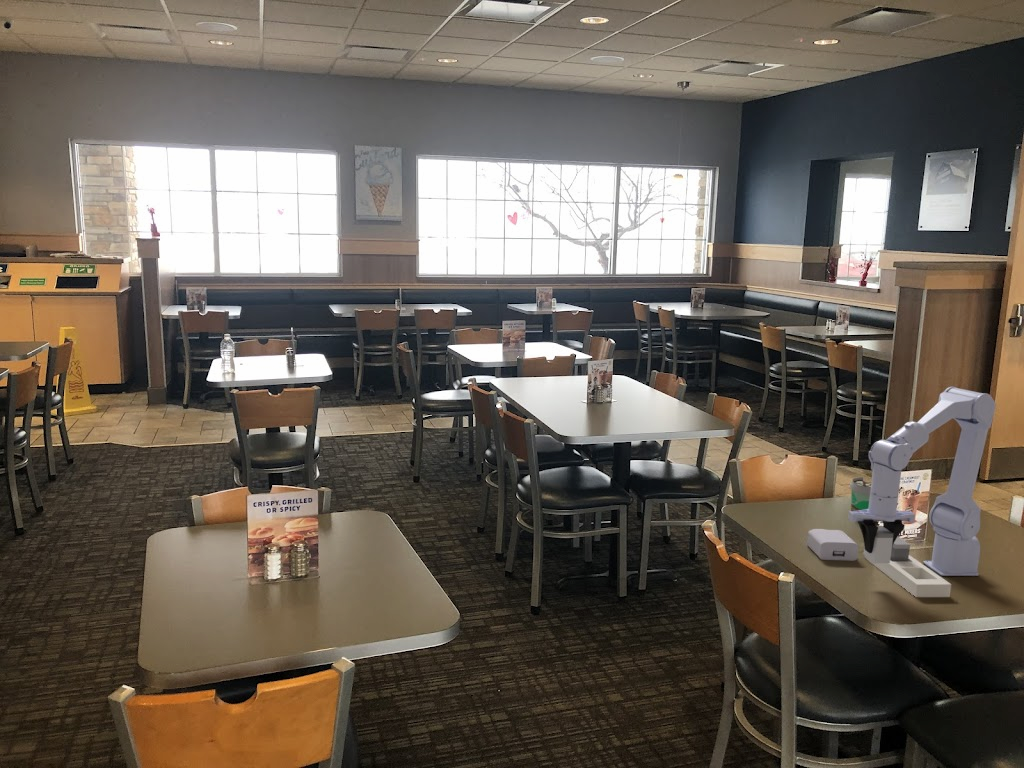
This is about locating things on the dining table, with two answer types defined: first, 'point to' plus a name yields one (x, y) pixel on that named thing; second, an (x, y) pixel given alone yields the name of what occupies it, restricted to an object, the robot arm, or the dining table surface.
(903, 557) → the charcoal plug
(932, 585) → the power strip
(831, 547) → the charger
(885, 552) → the grey plug
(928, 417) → the robot arm
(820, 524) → the dining table surface
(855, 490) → the food container
